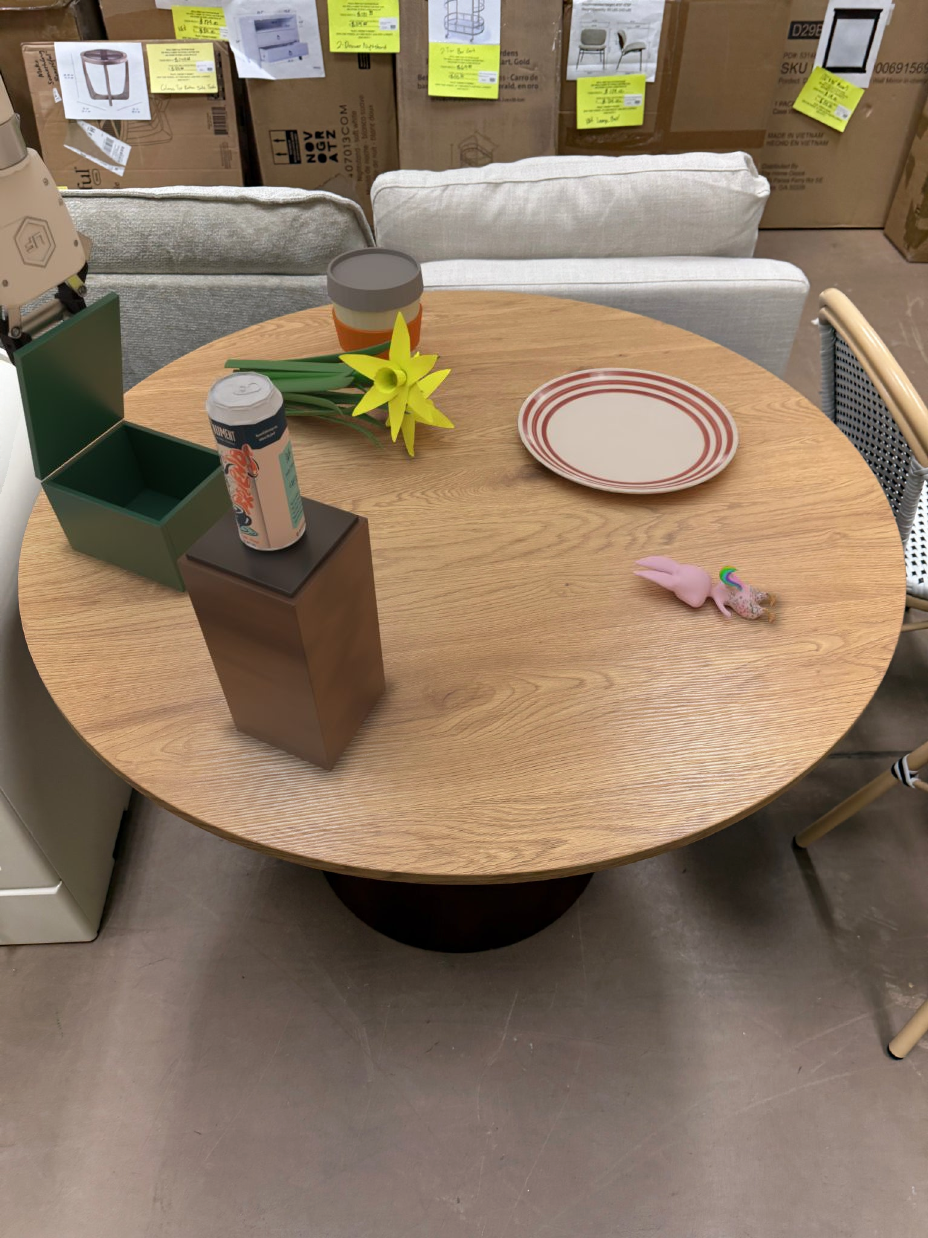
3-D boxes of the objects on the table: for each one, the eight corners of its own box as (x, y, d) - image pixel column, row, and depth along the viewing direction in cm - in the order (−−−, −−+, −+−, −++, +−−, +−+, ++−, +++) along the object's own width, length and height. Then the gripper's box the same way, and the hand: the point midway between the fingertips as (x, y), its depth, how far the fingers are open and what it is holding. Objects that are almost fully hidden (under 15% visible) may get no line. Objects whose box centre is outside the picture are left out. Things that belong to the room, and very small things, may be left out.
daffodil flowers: (293, 369, 117) (509, 370, 100) (262, 463, 114) (479, 481, 98) (211, 298, 102) (447, 285, 85) (173, 404, 100) (409, 412, 83)
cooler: (253, 525, 93) (237, 456, 86) (185, 596, 86) (160, 527, 79) (147, 487, 98) (123, 419, 90) (73, 552, 90) (39, 482, 83)
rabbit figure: (765, 602, 88) (633, 558, 89) (792, 565, 83) (651, 519, 84) (763, 645, 84) (624, 598, 85) (790, 608, 79) (643, 559, 80)
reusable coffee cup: (324, 362, 117) (310, 257, 106) (403, 341, 121) (397, 238, 110) (358, 406, 109) (347, 299, 98) (441, 382, 113) (440, 277, 102)
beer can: (233, 522, 60) (193, 377, 51) (295, 504, 61) (268, 361, 52) (250, 563, 57) (211, 418, 48) (315, 544, 58) (289, 399, 50)
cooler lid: (119, 294, 77) (75, 267, 77) (20, 357, 70) (-29, 326, 70) (124, 417, 90) (86, 394, 90) (41, 481, 83) (0, 455, 83)
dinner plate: (473, 430, 106) (473, 408, 103) (623, 363, 117) (626, 342, 115) (622, 545, 92) (627, 523, 89) (777, 456, 103) (785, 434, 100)
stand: (331, 775, 72) (293, 600, 55) (237, 733, 74) (174, 555, 58) (386, 692, 78) (367, 512, 61) (298, 657, 80) (256, 475, 64)
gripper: (-84, 193, 58) (19, 410, 71) (87, 118, 68) (148, 320, 81) (-158, 175, 60) (-44, 389, 73) (19, 105, 70) (90, 304, 83)
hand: (57, 351), depth 77 cm, fingers closed on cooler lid, 6 cm apart
